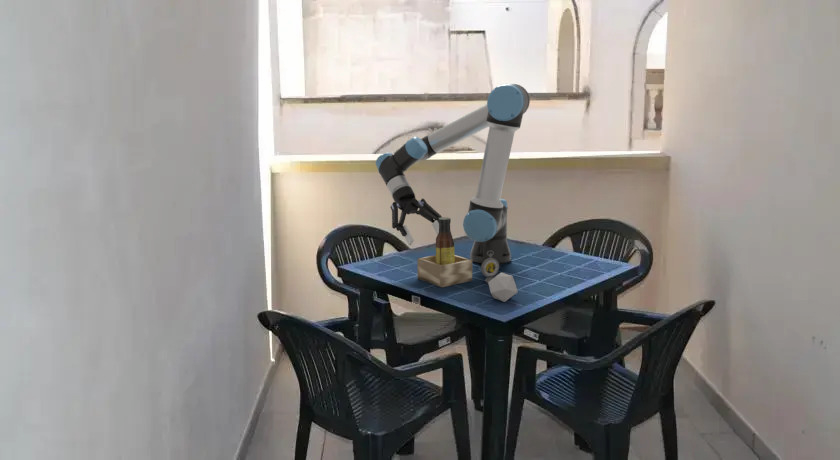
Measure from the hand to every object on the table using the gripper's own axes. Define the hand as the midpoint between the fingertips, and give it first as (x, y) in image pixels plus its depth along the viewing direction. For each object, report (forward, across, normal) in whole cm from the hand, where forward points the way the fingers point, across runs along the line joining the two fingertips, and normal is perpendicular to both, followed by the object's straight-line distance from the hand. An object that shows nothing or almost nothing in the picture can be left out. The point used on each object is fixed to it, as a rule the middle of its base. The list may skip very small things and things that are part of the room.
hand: (427, 240), depth 231 cm
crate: (+15, 0, -2) cm, 15 cm away
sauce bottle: (+14, 0, -1) cm, 14 cm away
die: (+34, 0, +18) cm, 39 cm away
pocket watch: (+24, -11, +7) cm, 27 cm away
